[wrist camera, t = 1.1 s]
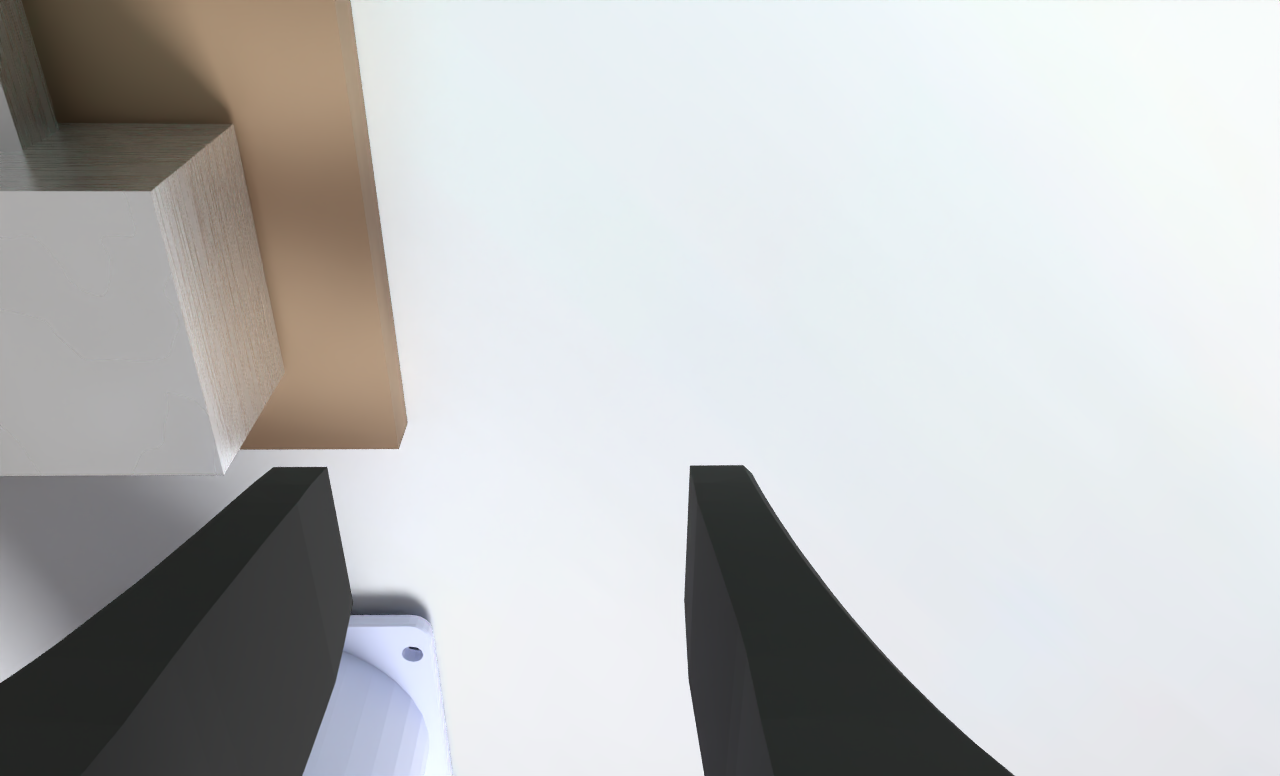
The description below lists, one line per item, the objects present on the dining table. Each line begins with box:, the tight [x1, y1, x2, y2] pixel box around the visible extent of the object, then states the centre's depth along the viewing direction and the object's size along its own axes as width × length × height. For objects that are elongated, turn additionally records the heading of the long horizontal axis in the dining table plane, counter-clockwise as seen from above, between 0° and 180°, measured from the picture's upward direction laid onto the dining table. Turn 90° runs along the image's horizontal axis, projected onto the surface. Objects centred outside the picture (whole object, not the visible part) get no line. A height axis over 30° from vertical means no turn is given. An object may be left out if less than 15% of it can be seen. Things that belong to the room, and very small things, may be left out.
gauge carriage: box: [0, 0, 285, 476], centre depth 16 cm, size 9×4×4 cm, turn 179°
